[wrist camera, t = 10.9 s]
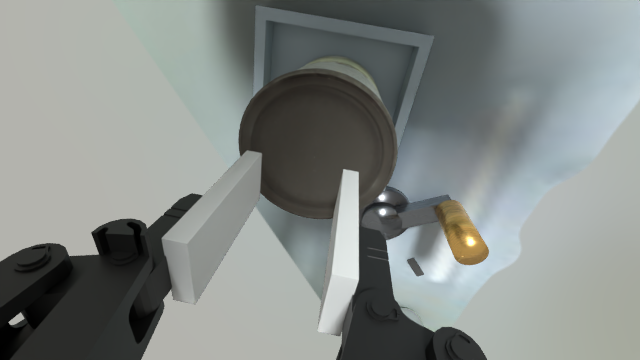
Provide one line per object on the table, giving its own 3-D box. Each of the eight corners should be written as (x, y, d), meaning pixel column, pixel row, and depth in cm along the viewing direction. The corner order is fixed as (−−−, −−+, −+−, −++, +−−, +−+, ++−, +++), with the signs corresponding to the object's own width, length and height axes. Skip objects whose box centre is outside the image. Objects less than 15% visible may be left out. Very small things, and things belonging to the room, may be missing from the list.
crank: (367, 236, 36) (370, 287, 29) (356, 207, 34) (356, 254, 27) (461, 216, 33) (491, 269, 25) (455, 183, 31) (485, 229, 23)
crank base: (357, 180, 34) (357, 185, 33) (419, 192, 34) (421, 197, 33) (345, 228, 38) (344, 233, 37) (400, 239, 38) (401, 245, 37)
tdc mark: (407, 259, 39) (407, 260, 39) (413, 257, 39) (413, 258, 39) (417, 275, 40) (417, 276, 40) (423, 273, 40) (423, 274, 40)
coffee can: (388, 138, 30) (408, 207, 18) (303, 156, 33) (270, 229, 20) (370, 40, 26) (382, 44, 13) (274, 70, 28) (210, 96, 16)
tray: (266, 8, 26) (255, 5, 23) (426, 36, 26) (434, 36, 23) (259, 154, 34) (251, 164, 31) (382, 178, 33) (384, 190, 31)
